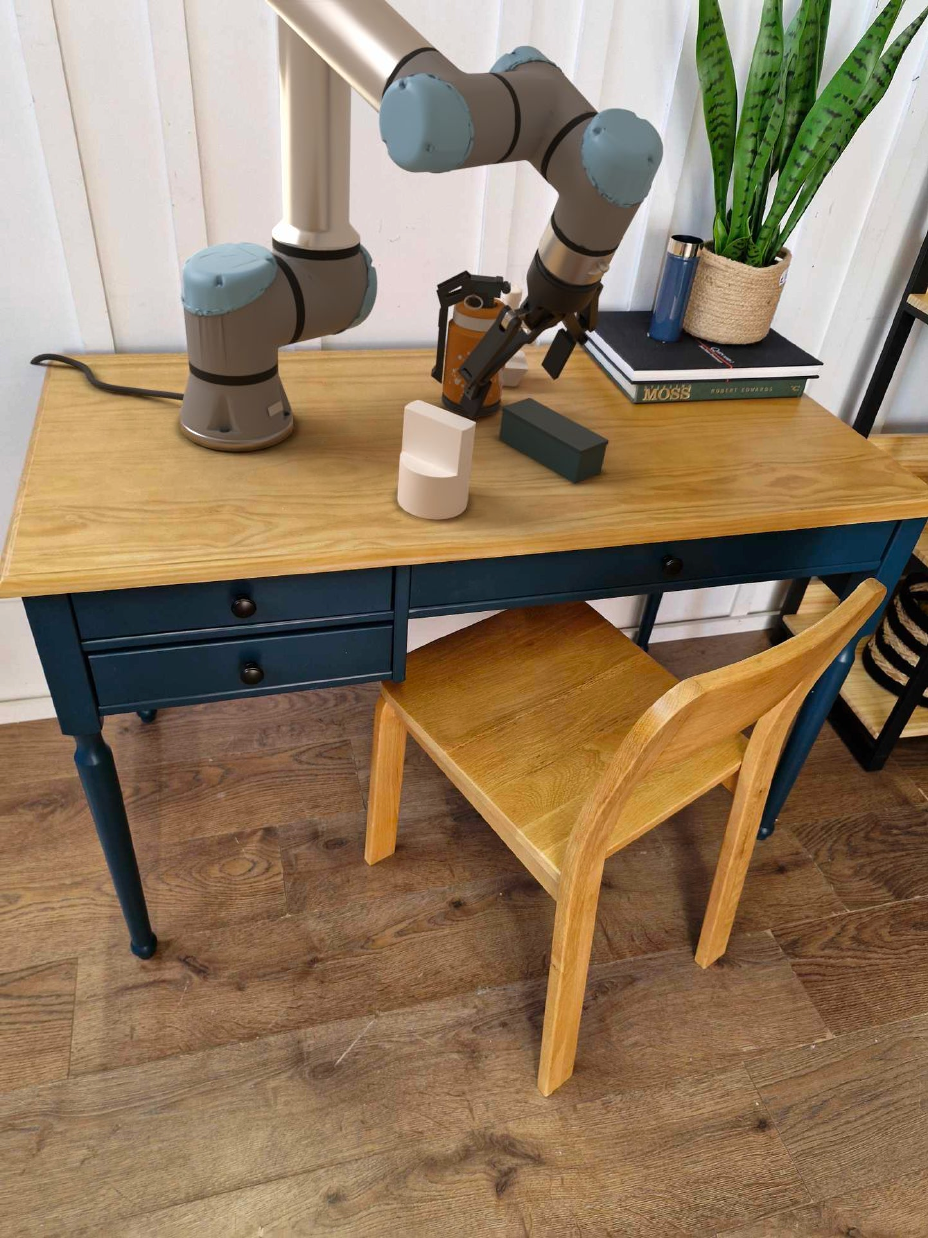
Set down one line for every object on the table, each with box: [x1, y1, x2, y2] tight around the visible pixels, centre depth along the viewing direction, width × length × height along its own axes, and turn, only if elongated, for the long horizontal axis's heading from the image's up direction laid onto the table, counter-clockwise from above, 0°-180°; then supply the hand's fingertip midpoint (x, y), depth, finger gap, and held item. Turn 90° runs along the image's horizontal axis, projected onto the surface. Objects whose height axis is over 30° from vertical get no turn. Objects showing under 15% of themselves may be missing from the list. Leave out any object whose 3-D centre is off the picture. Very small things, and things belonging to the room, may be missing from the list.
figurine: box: [502, 283, 538, 387], centre depth 145 cm, size 7×9×15 cm
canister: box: [430, 269, 512, 417], centre depth 134 cm, size 9×11×20 cm
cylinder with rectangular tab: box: [397, 399, 477, 521], centre depth 115 cm, size 9×9×12 cm
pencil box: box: [498, 397, 610, 484], centre depth 129 cm, size 15×6×5 cm, turn 43°
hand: (509, 390), depth 115 cm, fingers open, 13 cm apart
